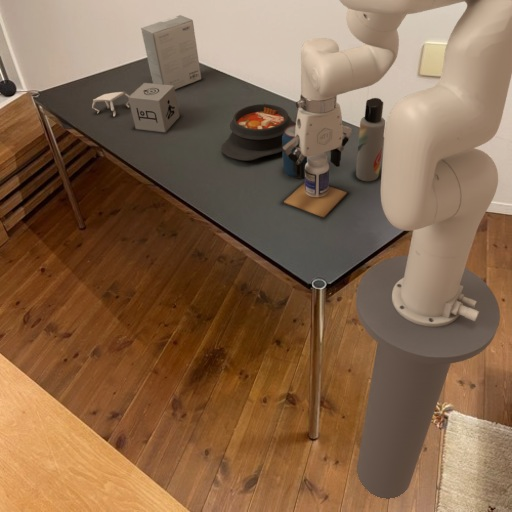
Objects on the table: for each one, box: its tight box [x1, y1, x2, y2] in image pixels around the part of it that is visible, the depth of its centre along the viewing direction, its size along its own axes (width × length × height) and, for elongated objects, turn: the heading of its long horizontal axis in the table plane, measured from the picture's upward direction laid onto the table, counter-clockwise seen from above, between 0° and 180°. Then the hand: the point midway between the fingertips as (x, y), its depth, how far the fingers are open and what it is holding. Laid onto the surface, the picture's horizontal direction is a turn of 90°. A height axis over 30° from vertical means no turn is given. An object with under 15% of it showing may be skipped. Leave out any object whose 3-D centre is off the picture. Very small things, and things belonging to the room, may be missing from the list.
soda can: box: [281, 125, 307, 179], centre depth 127 cm, size 7×7×12 cm
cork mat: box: [283, 182, 348, 219], centre depth 122 cm, size 11×11×1 cm
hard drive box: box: [140, 14, 202, 90], centre depth 169 cm, size 16×8×20 cm, turn 130°
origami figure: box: [91, 91, 130, 117], centre depth 161 cm, size 12×8×5 cm
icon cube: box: [127, 82, 180, 133], centre depth 152 cm, size 10×10×10 cm
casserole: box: [220, 103, 296, 162], centre depth 139 cm, size 25×19×8 cm
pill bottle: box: [304, 152, 330, 197], centre depth 120 cm, size 6×6×10 cm
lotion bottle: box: [355, 97, 386, 182], centre depth 121 cm, size 6×6×20 cm
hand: (317, 169), depth 119 cm, fingers open, 9 cm apart
